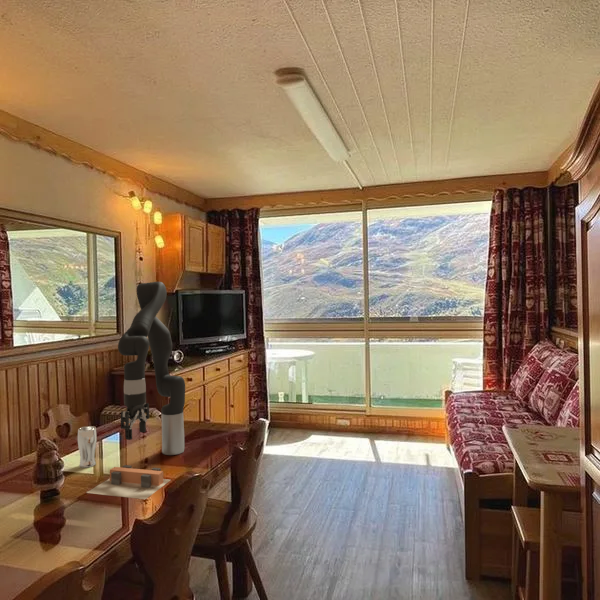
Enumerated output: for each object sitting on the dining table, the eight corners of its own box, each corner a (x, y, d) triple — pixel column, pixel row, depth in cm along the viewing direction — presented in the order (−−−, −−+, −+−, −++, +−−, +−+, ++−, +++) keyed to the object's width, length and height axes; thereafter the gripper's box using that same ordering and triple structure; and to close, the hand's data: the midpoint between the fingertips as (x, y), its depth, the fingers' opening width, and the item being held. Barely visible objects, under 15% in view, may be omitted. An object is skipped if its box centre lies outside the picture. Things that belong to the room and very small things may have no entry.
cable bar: (115, 477, 174) (114, 466, 174) (163, 482, 170) (163, 471, 169) (109, 480, 172) (109, 469, 172) (158, 485, 167) (158, 474, 167)
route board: (116, 477, 178) (115, 463, 177) (171, 483, 172) (171, 468, 172) (85, 496, 161) (85, 481, 161) (145, 502, 156) (145, 487, 156)
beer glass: (76, 469, 187) (75, 431, 186) (79, 463, 193) (79, 426, 193) (95, 467, 188) (94, 430, 188) (98, 461, 195) (97, 425, 195)
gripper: (137, 386, 178) (138, 429, 178) (113, 395, 164) (114, 441, 164) (155, 387, 176) (155, 430, 176) (132, 396, 162) (133, 442, 162)
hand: (135, 435), depth 170 cm, fingers open, 8 cm apart
